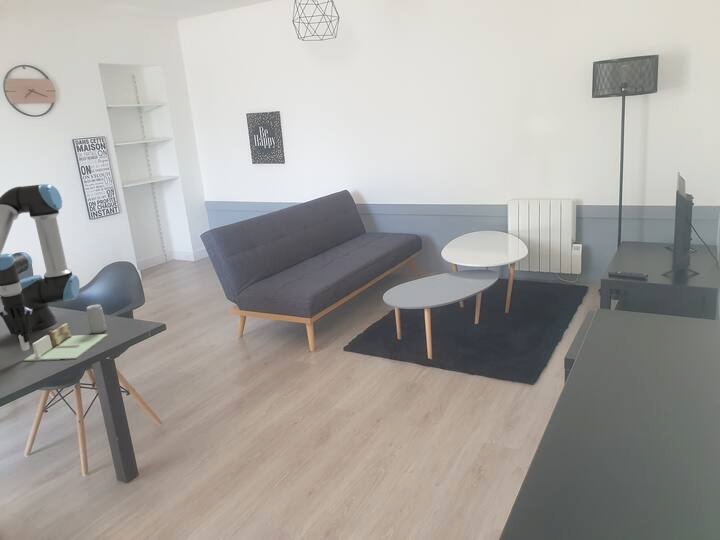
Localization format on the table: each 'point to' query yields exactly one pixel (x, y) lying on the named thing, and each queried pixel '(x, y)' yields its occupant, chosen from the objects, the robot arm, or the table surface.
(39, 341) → the panel
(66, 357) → the card
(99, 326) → the beverage can
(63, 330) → the fence fixed
